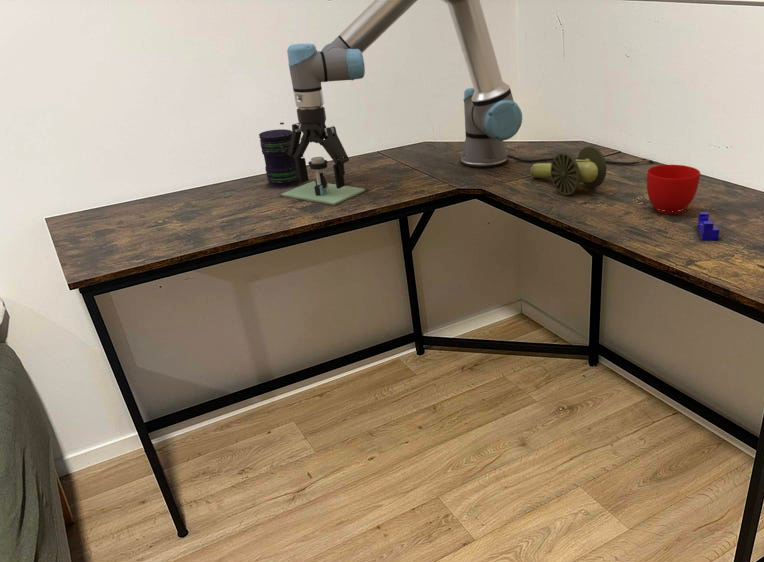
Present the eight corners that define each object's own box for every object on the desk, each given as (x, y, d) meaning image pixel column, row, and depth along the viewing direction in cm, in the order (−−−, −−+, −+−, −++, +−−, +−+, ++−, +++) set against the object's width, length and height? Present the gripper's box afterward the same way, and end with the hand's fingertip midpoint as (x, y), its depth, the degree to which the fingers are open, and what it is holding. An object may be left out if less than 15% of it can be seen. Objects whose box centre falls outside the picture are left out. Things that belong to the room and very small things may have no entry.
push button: (319, 188, 198) (314, 154, 193) (336, 189, 197) (331, 154, 192) (310, 196, 193) (304, 160, 187) (328, 196, 192) (322, 161, 186)
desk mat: (365, 190, 197) (365, 188, 197) (334, 205, 187) (334, 203, 186) (313, 182, 206) (313, 180, 205) (281, 195, 195) (280, 193, 195)
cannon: (519, 181, 200) (519, 142, 194) (549, 173, 206) (550, 135, 200) (578, 200, 183) (580, 158, 177) (609, 191, 189) (612, 150, 183)
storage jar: (261, 186, 204) (249, 125, 195) (281, 177, 212) (270, 118, 202) (288, 189, 201) (277, 127, 191) (307, 180, 208) (297, 119, 199)
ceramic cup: (701, 200, 180) (707, 163, 175) (690, 221, 167) (695, 181, 162) (653, 195, 185) (656, 158, 180) (638, 215, 172) (641, 176, 167)
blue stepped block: (717, 240, 156) (720, 223, 154) (702, 240, 156) (704, 223, 154) (712, 228, 162) (714, 212, 160) (697, 227, 163) (699, 211, 161)
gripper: (266, 106, 185) (281, 182, 196) (337, 112, 174) (348, 193, 185) (285, 101, 191) (298, 175, 202) (355, 107, 180) (364, 185, 191)
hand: (322, 184), depth 194 cm, fingers open, 13 cm apart
